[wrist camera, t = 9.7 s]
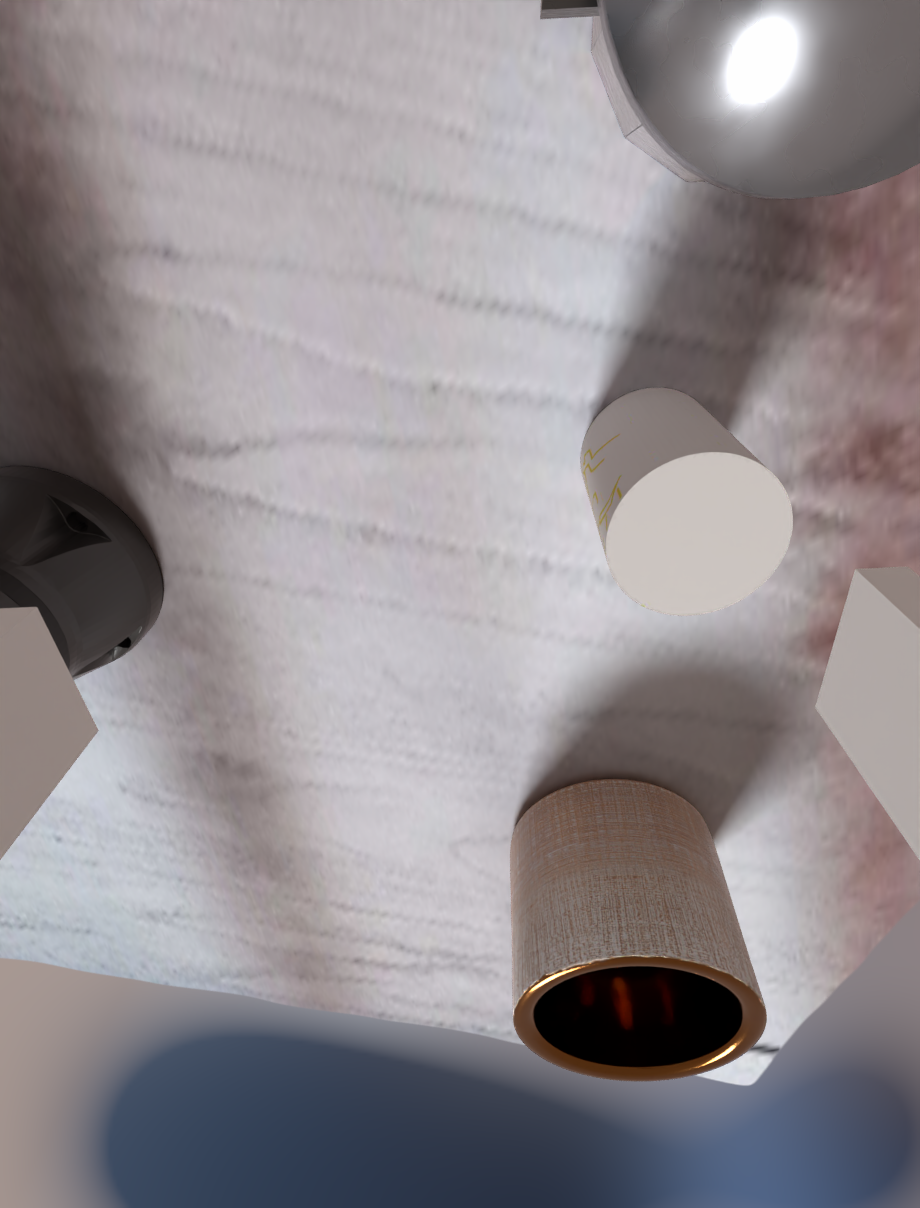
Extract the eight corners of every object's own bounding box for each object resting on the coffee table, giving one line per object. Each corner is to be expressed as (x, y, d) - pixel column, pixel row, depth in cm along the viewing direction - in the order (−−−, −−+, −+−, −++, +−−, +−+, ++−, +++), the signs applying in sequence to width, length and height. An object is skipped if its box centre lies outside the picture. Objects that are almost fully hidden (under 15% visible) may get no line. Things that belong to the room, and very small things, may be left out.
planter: (749, 838, 56) (825, 1032, 43) (603, 919, 64) (628, 1105, 50) (612, 737, 51) (649, 921, 37) (470, 839, 58) (459, 1021, 45)
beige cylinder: (564, 415, 38) (585, 488, 27) (703, 366, 36) (781, 424, 25) (599, 532, 41) (628, 634, 31) (725, 493, 39) (801, 588, 29)
